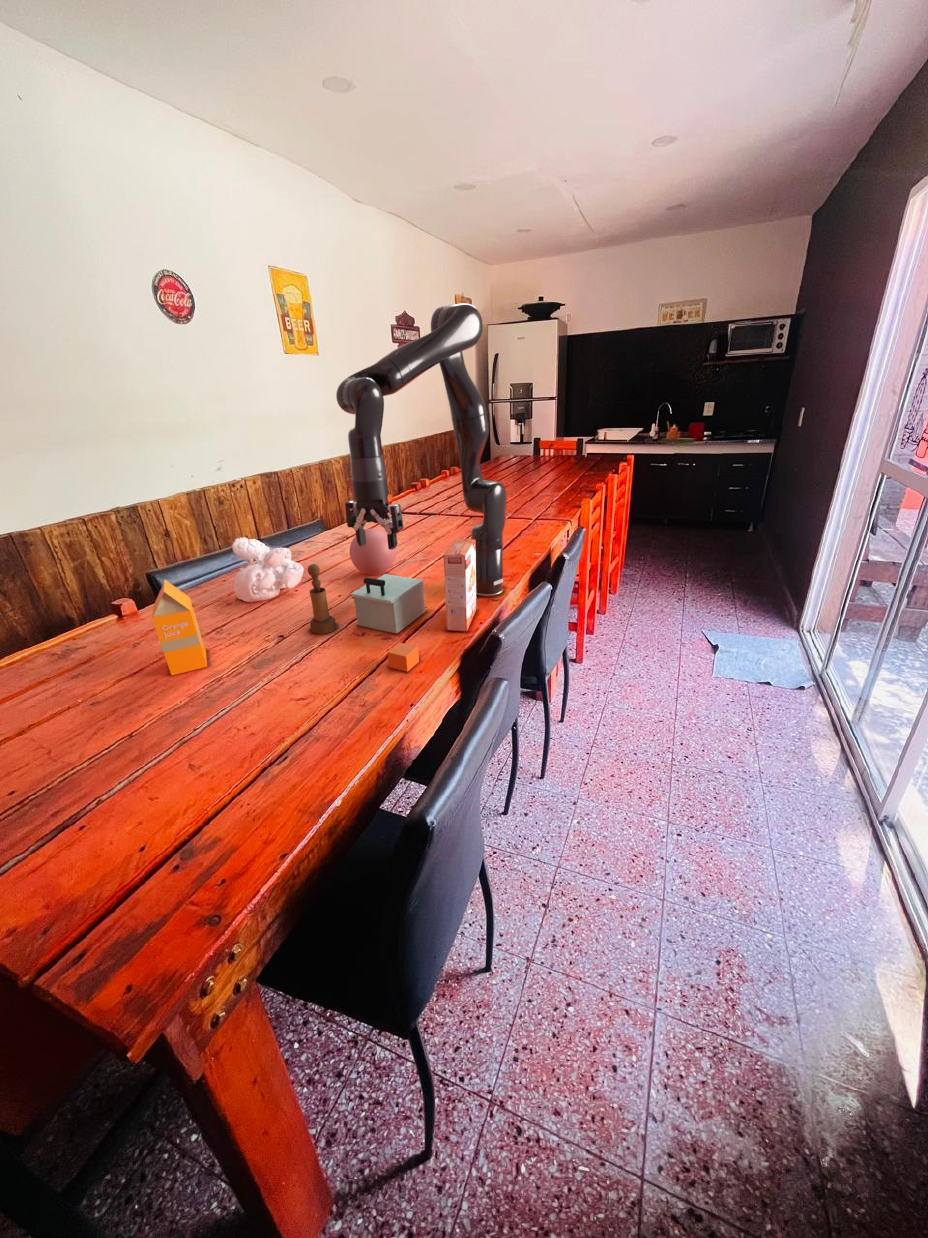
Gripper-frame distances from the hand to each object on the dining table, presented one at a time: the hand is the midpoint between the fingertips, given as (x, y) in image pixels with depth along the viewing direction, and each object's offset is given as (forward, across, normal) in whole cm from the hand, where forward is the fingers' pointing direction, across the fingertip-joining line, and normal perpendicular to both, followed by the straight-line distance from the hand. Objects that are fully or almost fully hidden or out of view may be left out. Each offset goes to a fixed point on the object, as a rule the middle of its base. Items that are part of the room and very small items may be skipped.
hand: (377, 546), depth 117 cm
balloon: (+24, +30, -38) cm, 54 cm away
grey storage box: (+24, +4, -9) cm, 25 cm away
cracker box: (+24, -14, -15) cm, 32 cm away
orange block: (+24, -12, +11) cm, 29 cm away
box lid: (+15, +4, -8) cm, 17 cm away
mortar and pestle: (+24, +18, +4) cm, 30 cm away
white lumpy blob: (+24, +51, -11) cm, 57 cm away
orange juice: (+24, +36, +30) cm, 53 cm away
